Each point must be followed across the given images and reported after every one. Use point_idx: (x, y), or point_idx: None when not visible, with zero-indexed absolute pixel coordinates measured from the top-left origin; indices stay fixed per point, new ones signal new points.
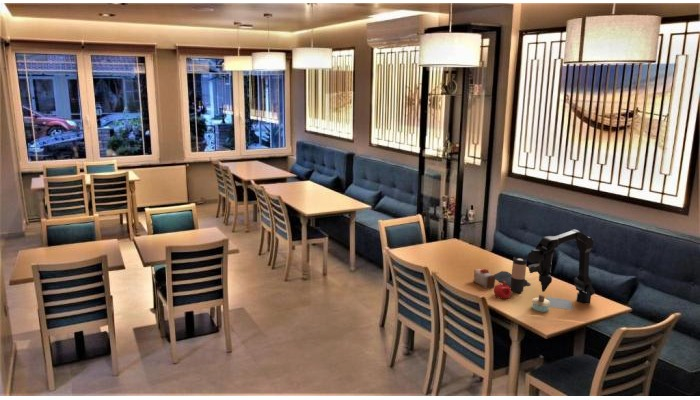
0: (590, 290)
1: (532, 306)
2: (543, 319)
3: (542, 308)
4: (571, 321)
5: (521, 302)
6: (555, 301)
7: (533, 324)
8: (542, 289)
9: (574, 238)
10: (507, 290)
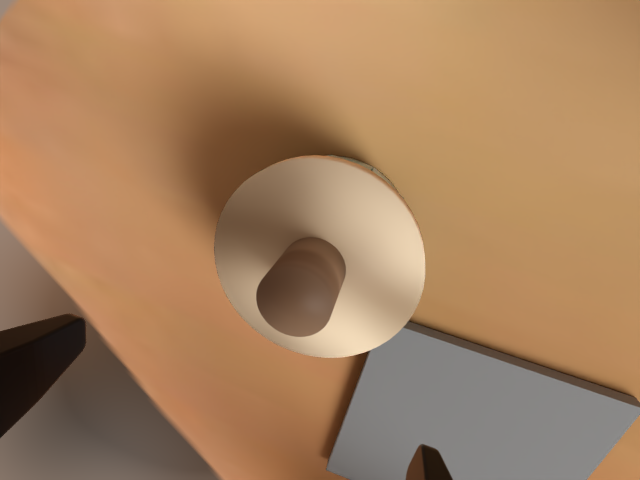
0: None
1: (362, 164)
2: (138, 184)
3: None
4: (163, 372)
5: (533, 73)
6: (502, 433)
7: (17, 56)
8: (10, 336)
9: None
10: None
